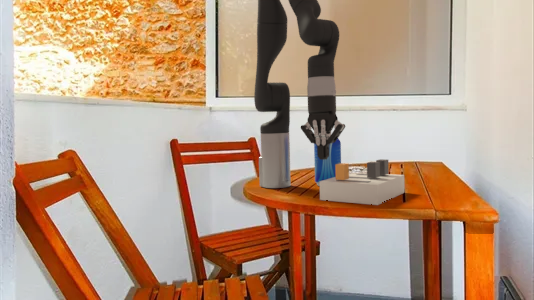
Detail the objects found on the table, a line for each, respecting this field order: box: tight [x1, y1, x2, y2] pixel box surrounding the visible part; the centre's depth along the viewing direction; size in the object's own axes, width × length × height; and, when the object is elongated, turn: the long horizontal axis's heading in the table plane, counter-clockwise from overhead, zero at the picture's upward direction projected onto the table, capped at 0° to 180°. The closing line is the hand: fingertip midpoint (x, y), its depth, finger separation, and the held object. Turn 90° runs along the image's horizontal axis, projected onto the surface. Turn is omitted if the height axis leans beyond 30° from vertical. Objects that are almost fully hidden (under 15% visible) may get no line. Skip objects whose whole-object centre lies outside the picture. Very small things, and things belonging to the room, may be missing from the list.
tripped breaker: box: [335, 162, 350, 180], centre depth 120 cm, size 2×3×4 cm
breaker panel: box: [319, 172, 405, 206], centre depth 124 cm, size 16×20×5 cm
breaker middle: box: [366, 161, 380, 178], centre depth 122 cm, size 2×3×4 cm
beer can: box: [313, 138, 342, 187], centre depth 146 cm, size 8×8×16 cm
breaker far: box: [375, 159, 389, 175], centre depth 127 cm, size 2×3×4 cm
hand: (323, 159), depth 123 cm, fingers closed
